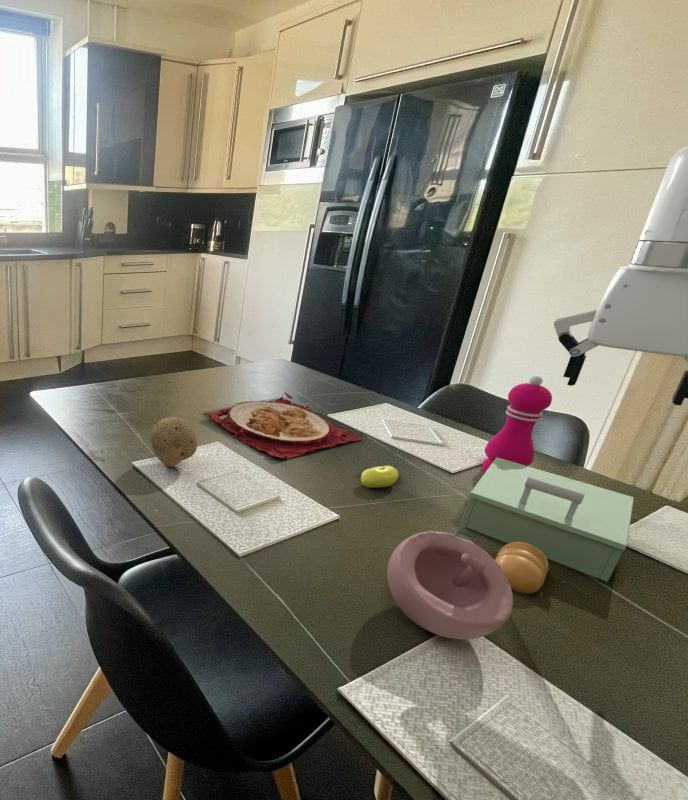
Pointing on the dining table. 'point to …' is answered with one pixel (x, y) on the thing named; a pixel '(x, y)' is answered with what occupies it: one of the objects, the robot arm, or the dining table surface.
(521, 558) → the bread roll
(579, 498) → the lid
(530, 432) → the pepper mill
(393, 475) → the yellow oval piece
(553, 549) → the bin
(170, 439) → the natural sponge
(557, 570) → the dining table surface
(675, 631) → the dining table surface
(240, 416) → the plate with food
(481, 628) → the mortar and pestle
